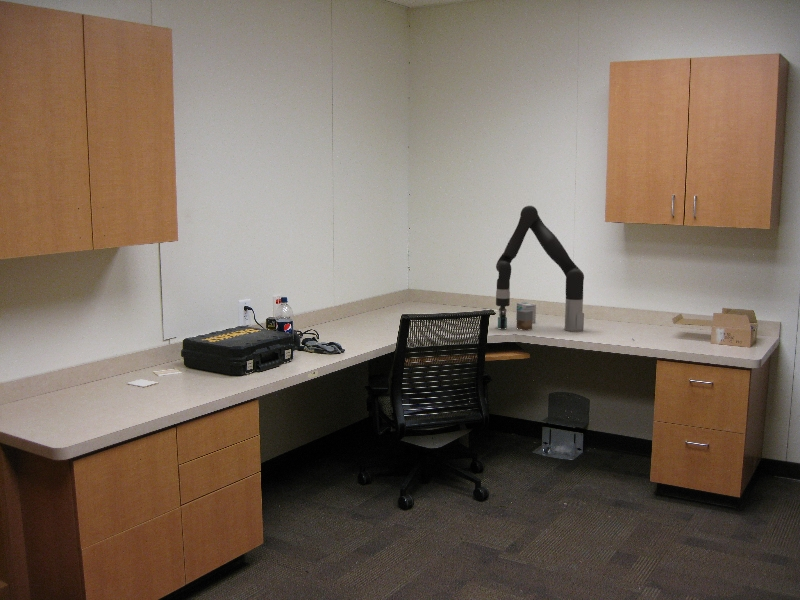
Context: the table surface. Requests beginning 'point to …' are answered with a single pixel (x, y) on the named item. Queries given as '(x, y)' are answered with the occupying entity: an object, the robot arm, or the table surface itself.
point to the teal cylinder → (500, 322)
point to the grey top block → (524, 315)
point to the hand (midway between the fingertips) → (502, 327)
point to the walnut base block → (524, 325)
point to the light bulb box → (527, 307)
